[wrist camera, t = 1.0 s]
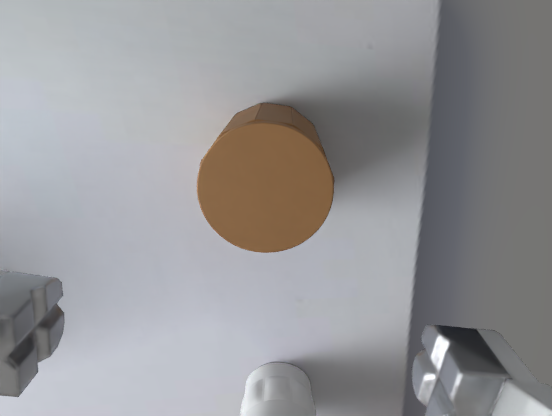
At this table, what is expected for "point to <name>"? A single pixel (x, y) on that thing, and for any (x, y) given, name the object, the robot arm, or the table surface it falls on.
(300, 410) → the binoculars
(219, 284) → the table surface
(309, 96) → the table surface
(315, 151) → the brown cylinder
